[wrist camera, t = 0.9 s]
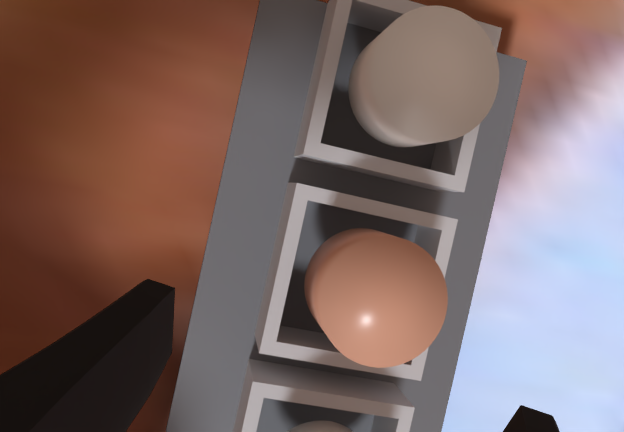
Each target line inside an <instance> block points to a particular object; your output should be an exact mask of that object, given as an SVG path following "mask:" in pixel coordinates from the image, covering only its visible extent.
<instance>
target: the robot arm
mask: <svg viewBox="0 0 624 432" xmlns="http://www.w3.org/2000/svg"><path fill="white" fill-rule="evenodd" d="M174 298H175V288H173V287H170V286H168V285H165V284H162V283H159V282H156V281H153V280H150V279H147V280H145V281H143V282H141V283H140V284H138V285H137V286H136V287H134V288H133V289H131V290H130V291H129V292H127V293H126V294H125V295H123V296H122V297H120V298H119V299H118V300H116V301H115V302H113V303H112V304H111V305H109V306H108V307H106V308H105V309H103V310H102V311H101V312H99V313H98V314H96V315H95V316H93V317H92V318H90V319H89V320H88V321H86V322H85V323H83V324H81V325H80V326H78V327H77V328H75V329H74V330H72V331H71V332H69V333H68V334H66V335H65V336H63V337H62V338H60V339H59V340H57V341H56V342H54V343H53V344H51V345H49V346H48V347H46V348H45V349H43V350H41V351H40V352H38V353H36V354H35V355H33V356H31V357H30V358H28V359H26V360H25V361H23V362H21V363H19V364H18V365H16V366H14V367H13V368H11V369H9V370H8V371H6V372H4V373H3V374H1V375H0V432H126V430H127V429H128V427H129V426H130V424H131V423H132V421H133V420H134V418H135V417H136V415H137V414H138V412H139V411H140V409H141V408H142V406H143V405H144V403H145V402H146V400H147V399H148V397H149V396H150V394H151V392H152V390H153V388H154V386H155V384H156V382H157V381H158V379H159V377H160V375H161V373H162V371H163V369H164V367H165V365H166V363H167V361H168V359H169V357H170V355H171V353H172V341H173V319H174ZM503 432H559V429H558V427H557V424H556V421H555V420H554V418H553V416H552V415H549V414H546V413H543V412H540V411H537V410H534V409H531V408H528V407H525V406H522V405H521V406H520V407H519V409H518V410H517V412H516V413H515V414H514V416H513V417H512V419H511V420H510V422H509V423H508V425H507V426H506V428H505V429H504V431H503Z"/></svg>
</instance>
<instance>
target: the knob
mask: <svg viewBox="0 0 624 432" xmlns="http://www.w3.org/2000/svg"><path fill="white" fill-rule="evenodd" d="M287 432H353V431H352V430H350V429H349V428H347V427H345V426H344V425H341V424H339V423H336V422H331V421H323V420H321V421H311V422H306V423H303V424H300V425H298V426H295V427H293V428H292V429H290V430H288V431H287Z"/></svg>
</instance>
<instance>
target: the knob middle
mask: <svg viewBox="0 0 624 432" xmlns="http://www.w3.org/2000/svg"><path fill="white" fill-rule="evenodd" d="M304 291H305V298H306V302H307V305H308V307H309V310H310V312H311V314H312V315H313V317H314V318H315V320H316V321H317V323H318V324H319V325H320V327H321V328H322V330H323V331H324V333H325V334H326V335H327V337H328V338H329V340H330V341H331V342H332V344H333V345H334V346H335V348H336V349H337V350H338V351H339V352H340V353H342V354H343V355H344V356H346V357H347V358H349V359H350V360H352V361H354V362H356V363H359V364H361V365H365V366H369V367H376V368H387V367H393V366H397V365H401V364H404V363H406V362H408V361H410V360H412V359H414V358H415V357H417V356H419V355H420V354H421V353H422V352H424V351H425V350H426V349H427V348H428V347H429V346H430V345H431V344H432V342H433V341H434V340H435V338H436V337H437V335H438V333H439V332H440V330H441V328H442V325H443V323H444V320H445V316H446V312H447V305H448V294H447V287H446V282H445V279H444V276H443V273H442V271H441V269H440V267H439V266H438V264H437V263H436V261H435V260H434V259H433V257H432V256H431V255H430V254H429V253H428V252H427V251H425V250H424V249H423V248H422V247H420V246H418V245H417V244H415V243H413V242H411V241H409V240H406V239H403V238H399V237H396V236H393V235H390V234H387V233H383V232H380V231H377V230H373V229H368V228H355V229H349V230H345V231H342V232H340V233H337V234H335V235H334V236H332V237H330V238H329V239H328V240H326V241H325V242H324V243H323V244H322V245H321V246H320V247H319V248H318V249H317V250H316V252H315V253H314V255H313V256H312V258H311V260H310V262H309V264H308V267H307V270H306V274H305V280H304Z"/></svg>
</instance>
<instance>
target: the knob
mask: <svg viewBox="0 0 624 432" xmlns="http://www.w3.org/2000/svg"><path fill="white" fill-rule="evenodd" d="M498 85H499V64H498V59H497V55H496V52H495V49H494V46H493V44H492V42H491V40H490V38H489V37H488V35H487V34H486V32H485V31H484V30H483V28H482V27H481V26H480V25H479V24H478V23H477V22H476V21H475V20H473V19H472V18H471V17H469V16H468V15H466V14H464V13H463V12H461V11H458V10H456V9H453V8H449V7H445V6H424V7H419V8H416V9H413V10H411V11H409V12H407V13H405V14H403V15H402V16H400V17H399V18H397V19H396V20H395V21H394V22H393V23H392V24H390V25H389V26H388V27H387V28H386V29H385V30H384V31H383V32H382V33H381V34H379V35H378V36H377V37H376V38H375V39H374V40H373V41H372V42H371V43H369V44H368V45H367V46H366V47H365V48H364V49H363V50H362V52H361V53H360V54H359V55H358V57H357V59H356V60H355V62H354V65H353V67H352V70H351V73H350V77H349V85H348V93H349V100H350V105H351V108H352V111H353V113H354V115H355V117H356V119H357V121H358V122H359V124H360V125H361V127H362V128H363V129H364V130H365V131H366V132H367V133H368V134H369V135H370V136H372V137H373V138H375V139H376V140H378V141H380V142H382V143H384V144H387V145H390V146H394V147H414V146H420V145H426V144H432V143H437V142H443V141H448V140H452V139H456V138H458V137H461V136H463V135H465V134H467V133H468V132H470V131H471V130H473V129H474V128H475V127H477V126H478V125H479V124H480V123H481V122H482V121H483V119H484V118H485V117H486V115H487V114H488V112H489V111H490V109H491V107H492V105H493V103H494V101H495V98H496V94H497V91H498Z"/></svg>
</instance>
